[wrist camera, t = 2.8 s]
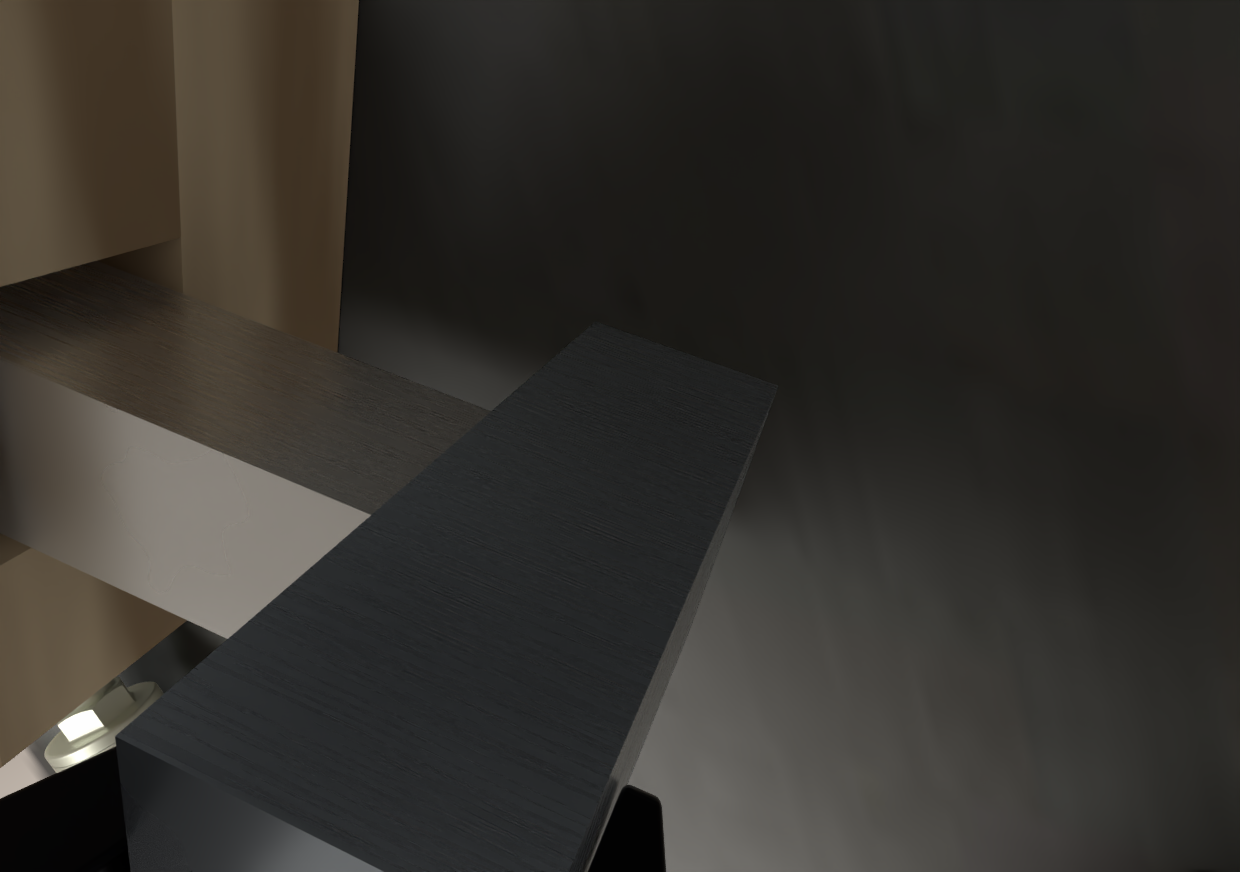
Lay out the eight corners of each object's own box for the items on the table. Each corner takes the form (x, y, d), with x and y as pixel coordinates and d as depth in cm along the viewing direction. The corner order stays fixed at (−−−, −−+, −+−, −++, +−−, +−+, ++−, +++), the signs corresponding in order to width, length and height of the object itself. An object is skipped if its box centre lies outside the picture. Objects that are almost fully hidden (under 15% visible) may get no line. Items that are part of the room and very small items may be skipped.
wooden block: (360, -21, 15) (-389, -91, 6) (327, 509, 21) (-88, 837, 12) (176, -74, 16) (-716, -199, 7) (195, 453, 22) (-283, 727, 13)
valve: (361, 778, 26) (149, 435, 22) (200, 989, 20) (-118, 573, 17) (220, 788, 28) (13, 486, 25) (45, 975, 23) (-253, 618, 19)
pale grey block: (778, 385, 12) (535, 949, 5) (690, 627, 15) (436, 1255, 7) (-93, 79, 16) (-1098, 125, 8) (-47, 322, 18) (-777, 540, 10)
